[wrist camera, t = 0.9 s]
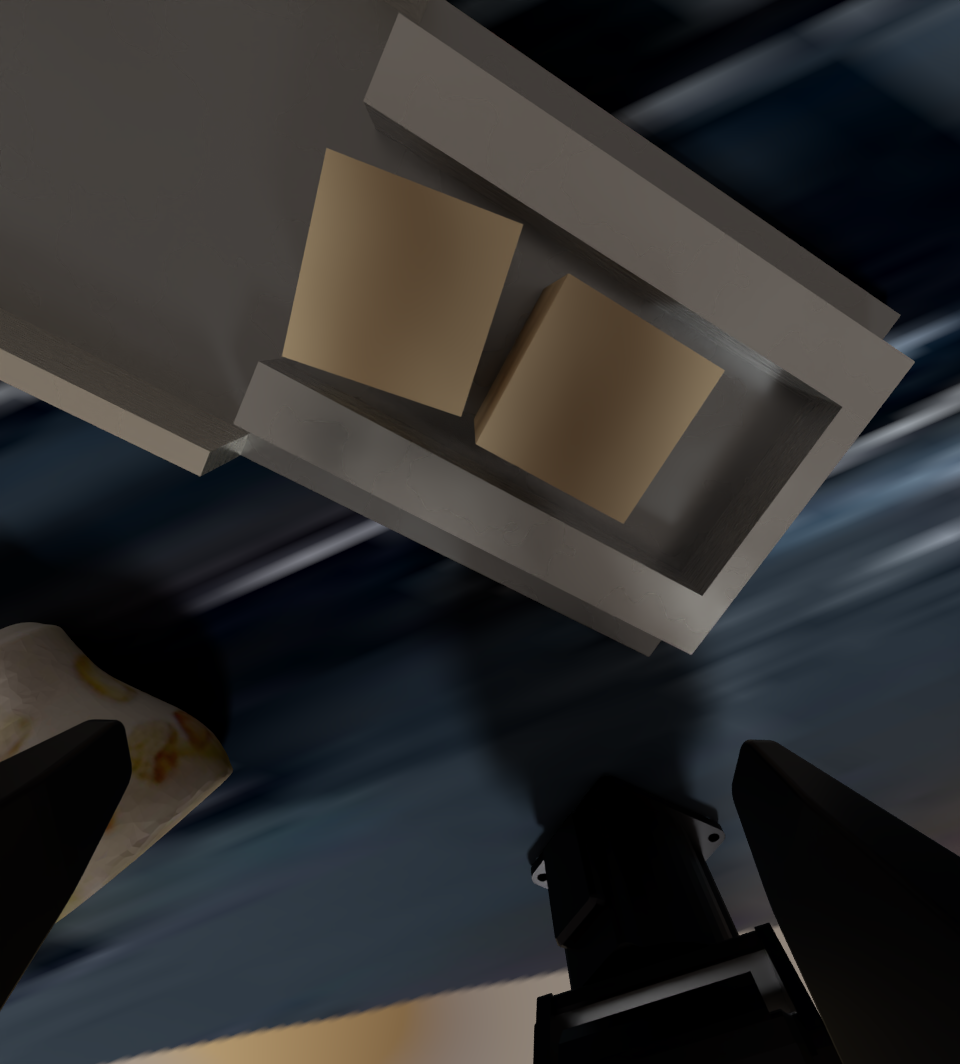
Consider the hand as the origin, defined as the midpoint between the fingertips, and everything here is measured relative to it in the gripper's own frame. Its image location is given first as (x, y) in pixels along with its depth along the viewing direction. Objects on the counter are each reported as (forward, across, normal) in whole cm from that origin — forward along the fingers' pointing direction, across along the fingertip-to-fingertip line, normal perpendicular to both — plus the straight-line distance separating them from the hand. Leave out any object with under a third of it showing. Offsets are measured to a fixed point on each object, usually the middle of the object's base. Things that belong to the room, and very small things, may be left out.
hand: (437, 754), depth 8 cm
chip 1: (+12, +2, -7) cm, 14 cm away
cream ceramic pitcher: (+13, +14, +9) cm, 21 cm away
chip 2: (+12, -3, -4) cm, 13 cm away
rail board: (+12, +3, -7) cm, 15 cm away
